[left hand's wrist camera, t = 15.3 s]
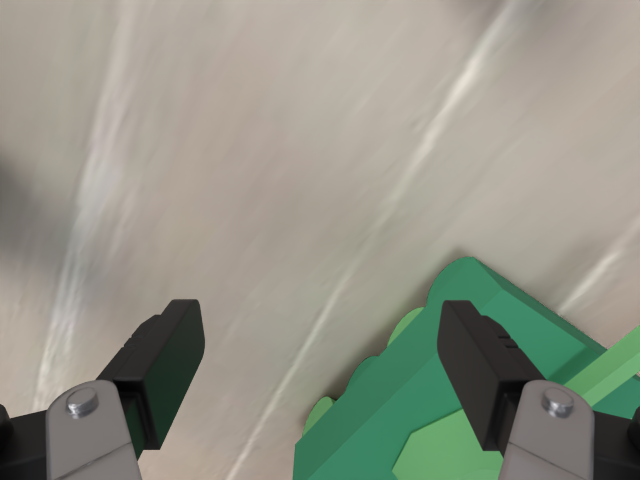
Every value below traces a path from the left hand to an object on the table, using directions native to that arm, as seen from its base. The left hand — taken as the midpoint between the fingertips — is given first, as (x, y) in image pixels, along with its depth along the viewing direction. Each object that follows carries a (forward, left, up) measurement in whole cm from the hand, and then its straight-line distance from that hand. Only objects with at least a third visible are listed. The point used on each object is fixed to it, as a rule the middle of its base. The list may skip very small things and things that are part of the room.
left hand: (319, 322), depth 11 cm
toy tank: (-4, -23, -20) cm, 31 cm away
